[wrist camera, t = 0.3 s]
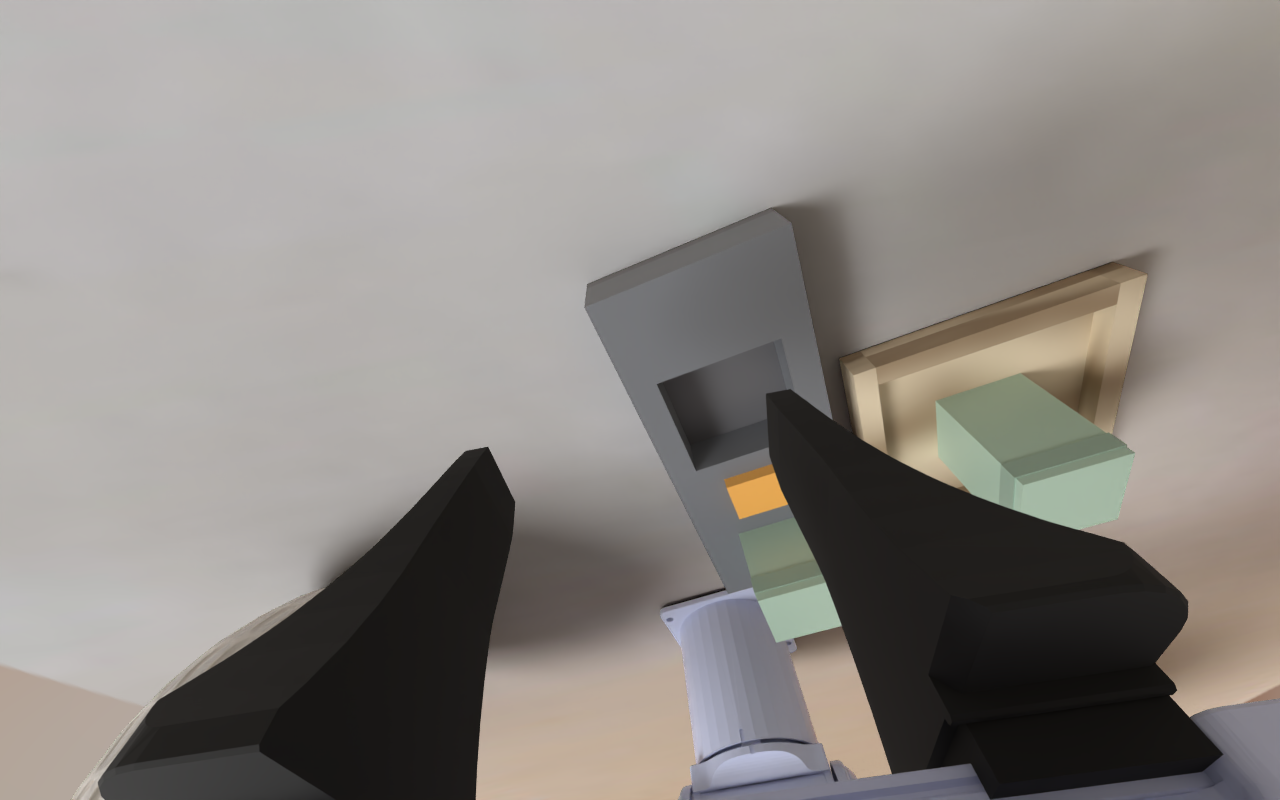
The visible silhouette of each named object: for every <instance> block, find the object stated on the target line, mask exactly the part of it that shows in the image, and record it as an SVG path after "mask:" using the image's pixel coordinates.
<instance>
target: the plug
mask: <svg viewBox="0 0 1280 800" xmlns="http://www.w3.org/2000/svg"><path fill="white" fill-rule="evenodd" d="M936 420H937V440H938V457H939V458H940V459H941V460H942V461H943V462H944V464H945V465H946V466H947V467H948V468H949V469H950V470H951V471H952V473H953V474H954V475H955V476H956V477H957V478H958V479H959V480H960V482H961V483H962V484H963V485H964V486H965V487H966V488H967V489H968V491H969V492H970V493H971V494H972V495H975V496H977V497H980V498H982V499H985V500H988V501H990V502H993V503H996V504H999V505H1001V506H1004V507H1007V508H1010V509H1013V510H1016V511H1019V512H1022V513H1025V514H1028V515H1031V516H1034V517H1037V518H1040V519H1043V520H1046V521H1049V522H1052V523H1056V524H1059V525H1063V526H1066V527H1070V528H1073V529H1077V530H1079V529H1083V528H1086V527H1090V526H1094V525H1098V524H1101V523H1105V522H1109V521H1112V520H1116V519H1118V516H1119V512H1120V508H1121V504H1122V501H1123V497H1124V493H1125V489H1126V485H1127V482H1128V478H1129V474H1130V470H1131V467H1132V463H1133V459H1134V455H1135V453H1134V452H1133V451H1132V450H1130V449H1129V448H1127V444H1125V443H1124V442H1122V441H1121V440H1119V439H1118V438H1116V437H1115V436H1114V435H1112V434H1111V433H1109V432H1108V433H1106V432H1104V431H1103V430H1101V429H1100V428H1099V427H1097V426H1096V425H1094V424H1093V423H1091V422H1090V421H1089V420H1087V419H1086V418H1084V417H1083V416H1081V415H1080V414H1078V413H1077V412H1076V411H1074V410H1073V409H1071V408H1070V407H1068V406H1067V405H1066V404H1064V403H1063V402H1061V401H1060V400H1058V399H1057V398H1055V397H1054V396H1053V395H1051V394H1050V393H1048V392H1047V391H1045V390H1044V389H1043V388H1041V387H1040V386H1038V385H1037V384H1035V383H1034V382H1033V381H1031V380H1030V379H1028V378H1027V377H1025V376H1024V375H1022V374H1021V373H1019V374H1016V375H1013V376H1010V377H1007V378H1004V379H1001V380H998V381H995V382H992V383H989V384H985V385H982V386H979V387H976V388H973V389H970V390H967V391H964V392H961V393H958V394H955V395H952V396H949V397H946V398H943V399H939V400H936Z"/></svg>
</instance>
